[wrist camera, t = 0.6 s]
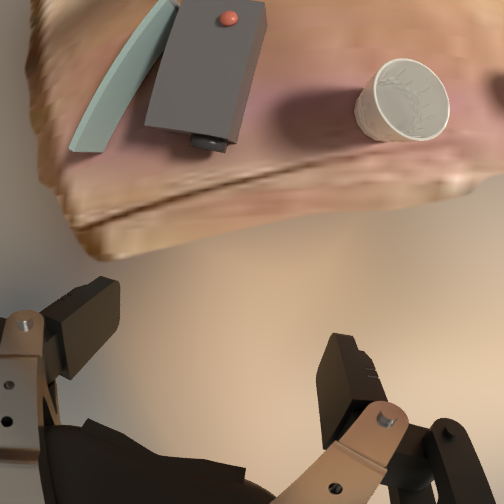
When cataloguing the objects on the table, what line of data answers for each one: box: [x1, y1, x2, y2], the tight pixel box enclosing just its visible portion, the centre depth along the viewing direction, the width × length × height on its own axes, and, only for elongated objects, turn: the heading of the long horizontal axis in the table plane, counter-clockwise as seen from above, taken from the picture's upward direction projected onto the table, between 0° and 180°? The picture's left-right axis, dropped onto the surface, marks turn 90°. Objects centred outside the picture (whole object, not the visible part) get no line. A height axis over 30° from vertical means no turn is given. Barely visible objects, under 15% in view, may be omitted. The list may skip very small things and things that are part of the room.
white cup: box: [354, 58, 450, 142], centre depth 26 cm, size 8×8×10 cm
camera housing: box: [144, 0, 267, 153], centre depth 28 cm, size 17×9×7 cm, turn 167°
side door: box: [69, 0, 180, 152], centre depth 28 cm, size 21×2×6 cm, turn 147°
